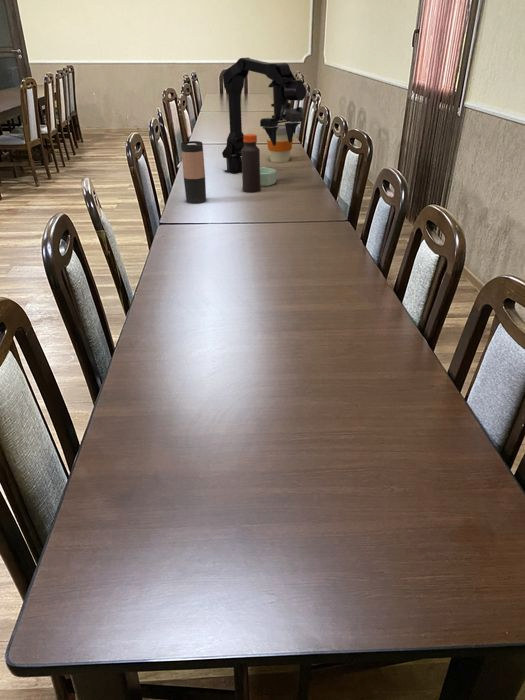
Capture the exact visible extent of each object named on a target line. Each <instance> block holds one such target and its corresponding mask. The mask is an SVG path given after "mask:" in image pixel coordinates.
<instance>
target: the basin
mask: <svg viewBox="0 0 525 700" xmlns="http://www.w3.org/2000/svg"><path fill="white" fill-rule="evenodd" d="M276 183H277V169H275V168H274V167H273V168H272V167H263V166H262V167H261V166H260V188H262V187H270V186H273V185H275V184H276Z"/></svg>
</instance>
